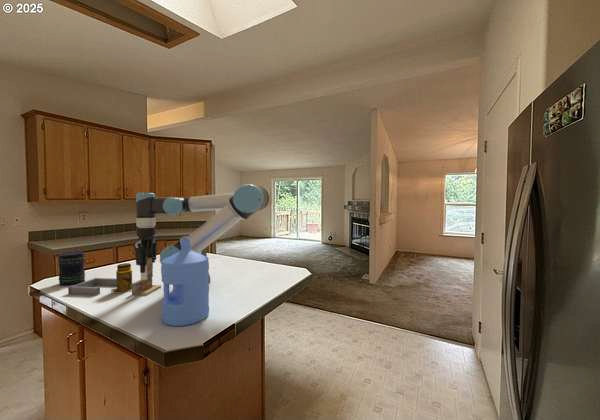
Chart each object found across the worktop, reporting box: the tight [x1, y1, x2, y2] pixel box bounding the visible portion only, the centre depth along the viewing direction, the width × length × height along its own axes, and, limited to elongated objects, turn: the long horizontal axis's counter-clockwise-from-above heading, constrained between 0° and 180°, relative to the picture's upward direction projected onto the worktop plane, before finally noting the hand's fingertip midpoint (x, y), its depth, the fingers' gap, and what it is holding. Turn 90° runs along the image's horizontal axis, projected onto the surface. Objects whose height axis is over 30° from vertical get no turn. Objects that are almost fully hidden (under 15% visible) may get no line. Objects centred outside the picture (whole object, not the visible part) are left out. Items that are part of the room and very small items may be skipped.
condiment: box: [110, 262, 133, 295], centre depth 119 cm, size 7×8×12 cm
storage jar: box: [57, 250, 86, 287], centre depth 129 cm, size 10×10×15 cm
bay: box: [67, 277, 117, 296], centre depth 120 cm, size 14×14×3 cm
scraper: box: [131, 257, 162, 296], centre depth 118 cm, size 7×10×15 cm
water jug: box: [160, 239, 210, 327], centre depth 93 cm, size 16×16×28 cm
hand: (146, 278), depth 118 cm, fingers closed on scraper, 3 cm apart
